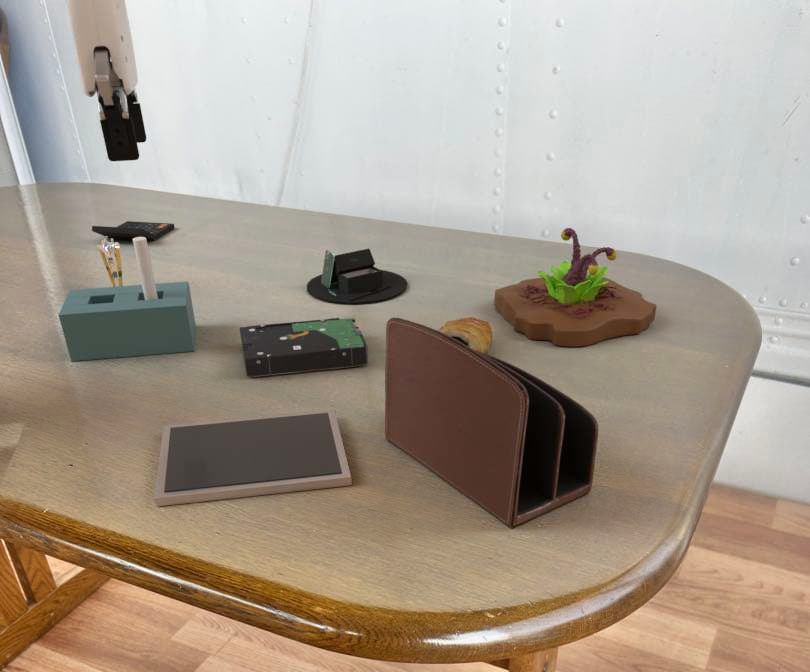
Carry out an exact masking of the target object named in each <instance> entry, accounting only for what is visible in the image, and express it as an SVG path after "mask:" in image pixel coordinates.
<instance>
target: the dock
mask: <svg viewBox="0 0 810 672" xmlns="http://www.w3.org/2000/svg"><path fill="white" fill-rule="evenodd" d="M155 286H156V291H157V296H158V299H154V300H145V297H144V293H143V288H142V284H135V285H134V284H133V285H123V286H118V287H113V286H106V287H92V288H76V289H69V290H68V293H67V294H66V297H65V299H64V301H63V304H62V306H61V308H60V311H59V313H58V318H59V323H60V326H61V330H62V334H63V336H64V337H63V338H64V340H65V345H66V347H67V351H68V355H69V358H70V362H82V360H83V361H92V360H93V361H94V359H95V360H105V359H104V358H107V359H118V358H117V357H119V358H129V357H141V356H142V357H143V356H154V355H166V354H178V353H189V352H195V345H196V344H195V343H196V328H197V326H196V325H197V324H196V317H195V313H194V308H193V301H192V295H191V290H190V284H189V281H174V282H161V283H155ZM80 360H81V361H80Z"/></svg>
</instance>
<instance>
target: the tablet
mask: <svg viewBox="0 0 810 672" xmlns="http://www.w3.org/2000/svg"><path fill="white" fill-rule="evenodd" d="M340 429H341V428H340V425H339V422H338V418H337V414H336V410H335V409H328V410H327V409H326V410H316V411H307V412H297V413H296V412H295V413H287V414H285V413H284V414H276V415H275V414H274V415H266V416H265V415H263V416H254V417H253V416H252V417H243V418H233V419H224V420H212V421H202V422H201V421H200V422H191V423H190V422H189V423H182V424H170V425H163V426H162V435H161V444H160V452H159V453H160V454H159V460H158V461H159V462H158V470H157V479H156V485H155V486H156V487H155V495H154V501H155V503H156V507H166V506H167V507H168V506H175V505H184V504H194V503H202V502H203V503H204V502H212V501H221V500H230V499H238V498H239V499H240V498H248V497H257V496H264V495H265V496H267V495H275V494H285V493H294V492H302V491H313V490H321V489H330V488H331V489H332V488H340V487H341V488H342V487H349V486H352V485H353V481H352V473H351V468H350V466H349V461H348V458H347V453H346V450H345V445H344V442H343V437H342V434H341V430H340Z"/></svg>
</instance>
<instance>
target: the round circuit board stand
mask: <svg viewBox="0 0 810 672" xmlns="http://www.w3.org/2000/svg"><path fill="white" fill-rule="evenodd" d="M375 265H376V262H375V258H374V257H373V254H372V251H371V249H370V248H365V249H360V250H355V251H350V252H345V253H341V254H335V253H334V252H332V251H330V250H329V249H325V253H324V259H323V266H322V273H321V274H318V275H316V276H315V277H313V278H311V279H310V280H309V281H308V282H307V284H306V291H307V293H308V295H309V296H311V297H312V298H314V299H316V300H319V301H322V302H325V303H331V304H337V305H351V306H352V305H353V306H354V305H356V306H357V305H367V304H368V305H370V304H378V303H382V302H386V301H390V300H392V299H395V298H397V297H399V296H401V295H402V294H403V293H405V292H406V290H407V289H408V282H407V280H406V278H404V277H403V276H402V275H400V274H398V273H395V272H393V271H390V270H385V269H380V268H377V267H376V266H375Z"/></svg>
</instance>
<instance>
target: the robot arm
mask: <svg viewBox="0 0 810 672" xmlns="http://www.w3.org/2000/svg"><path fill="white" fill-rule="evenodd" d="M66 7H67V13H68V18H69V24H70V30H71V35H72V41H73V46H74V51H75V55H76V60H77V66H78V71H79V76H80V82H81V87H82V91H83V93H84V94H85V95H86V96H87V97H89V98H93V97H94V96H95V95H96V98H97V104H98V105H97V106H98V113H99V118H100V119H99V123H100V128H101V132H102V136H103V141H104V145H105V149H106V150H105V151H106V154H107V159H108V160H109V161H110V162H127V161H138V160H139V158H140V151H139V146H138V144H139V143H145V142H147V133H146V128H145V122H144V118H143V117H144V116H143V113H142V107H141V103H140V102H139V98H138V93H137V90H136V87H137V85H138V81H139V80H138V79H139V78H138V77H139V76H138V69H137V63H136V62H137V61H136V57H135V56H136V55H135V50H134V42H133V38H132V32H131V27H130V21H129V15H128V10H127V5H126V0H66Z"/></svg>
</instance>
